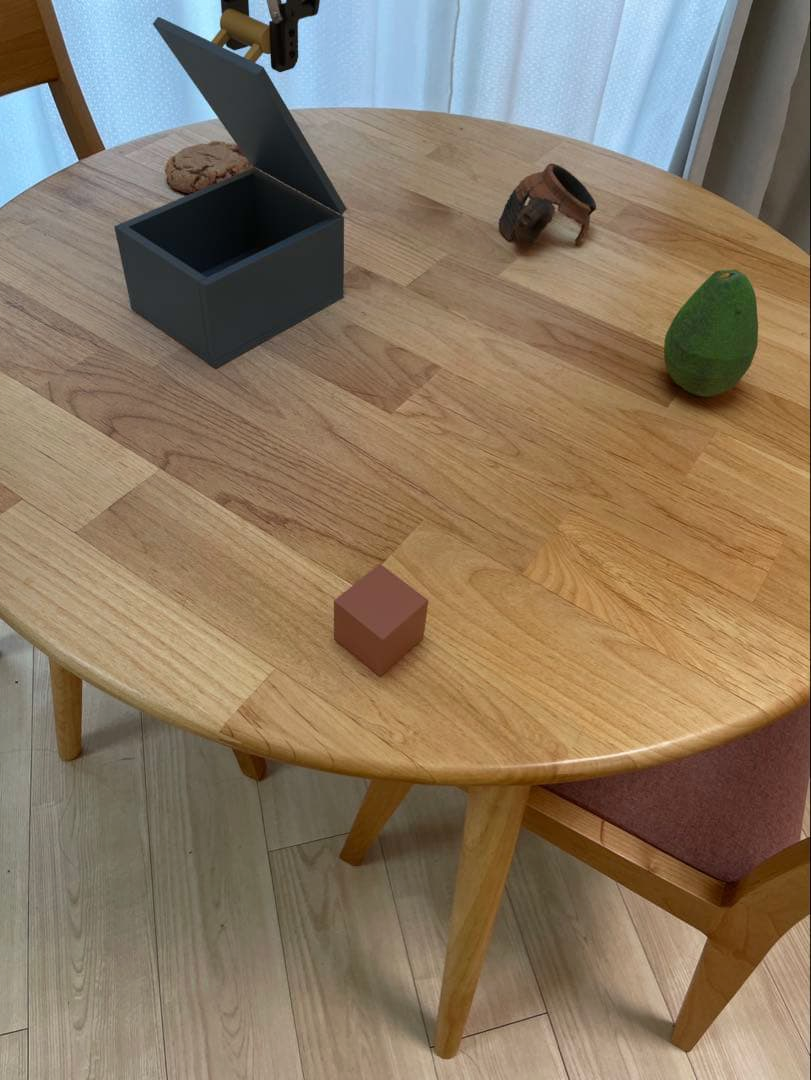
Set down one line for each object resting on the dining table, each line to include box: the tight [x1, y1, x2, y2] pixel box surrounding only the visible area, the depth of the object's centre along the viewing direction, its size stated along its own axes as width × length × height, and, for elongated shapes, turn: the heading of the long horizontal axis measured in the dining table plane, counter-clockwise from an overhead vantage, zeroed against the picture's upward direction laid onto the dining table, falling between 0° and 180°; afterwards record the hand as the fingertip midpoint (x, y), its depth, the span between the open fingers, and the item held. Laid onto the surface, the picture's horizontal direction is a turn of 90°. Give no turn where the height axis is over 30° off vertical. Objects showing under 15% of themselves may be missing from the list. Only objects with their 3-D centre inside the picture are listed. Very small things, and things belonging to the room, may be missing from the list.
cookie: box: [164, 140, 253, 194], centre depth 103 cm, size 10×11×3 cm
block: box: [333, 563, 429, 677], centre depth 61 cm, size 5×5×5 cm
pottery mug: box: [498, 163, 597, 245], centre depth 98 cm, size 12×9×8 cm
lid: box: [152, 9, 348, 216], centre depth 77 cm, size 18×13×5 cm
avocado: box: [663, 269, 759, 398], centre depth 79 cm, size 8×8×12 cm
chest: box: [113, 167, 345, 369], centre depth 85 cm, size 17×13×9 cm
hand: (260, 57), depth 74 cm, fingers closed on lid, 5 cm apart
